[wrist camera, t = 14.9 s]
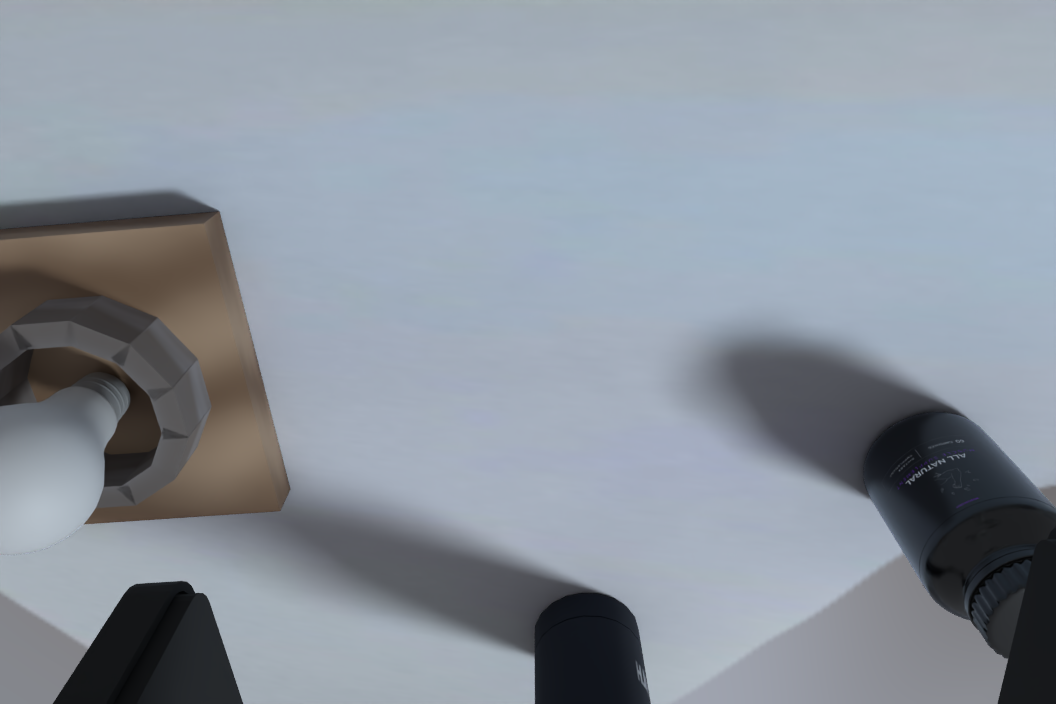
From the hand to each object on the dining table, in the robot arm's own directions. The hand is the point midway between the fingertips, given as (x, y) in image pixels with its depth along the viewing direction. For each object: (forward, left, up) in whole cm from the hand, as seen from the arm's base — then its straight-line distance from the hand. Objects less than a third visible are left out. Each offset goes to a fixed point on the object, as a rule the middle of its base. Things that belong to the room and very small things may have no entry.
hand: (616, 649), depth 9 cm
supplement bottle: (+19, +19, -31) cm, 41 cm away
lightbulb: (+10, -23, -28) cm, 38 cm away
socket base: (+10, -23, -30) cm, 39 cm away
